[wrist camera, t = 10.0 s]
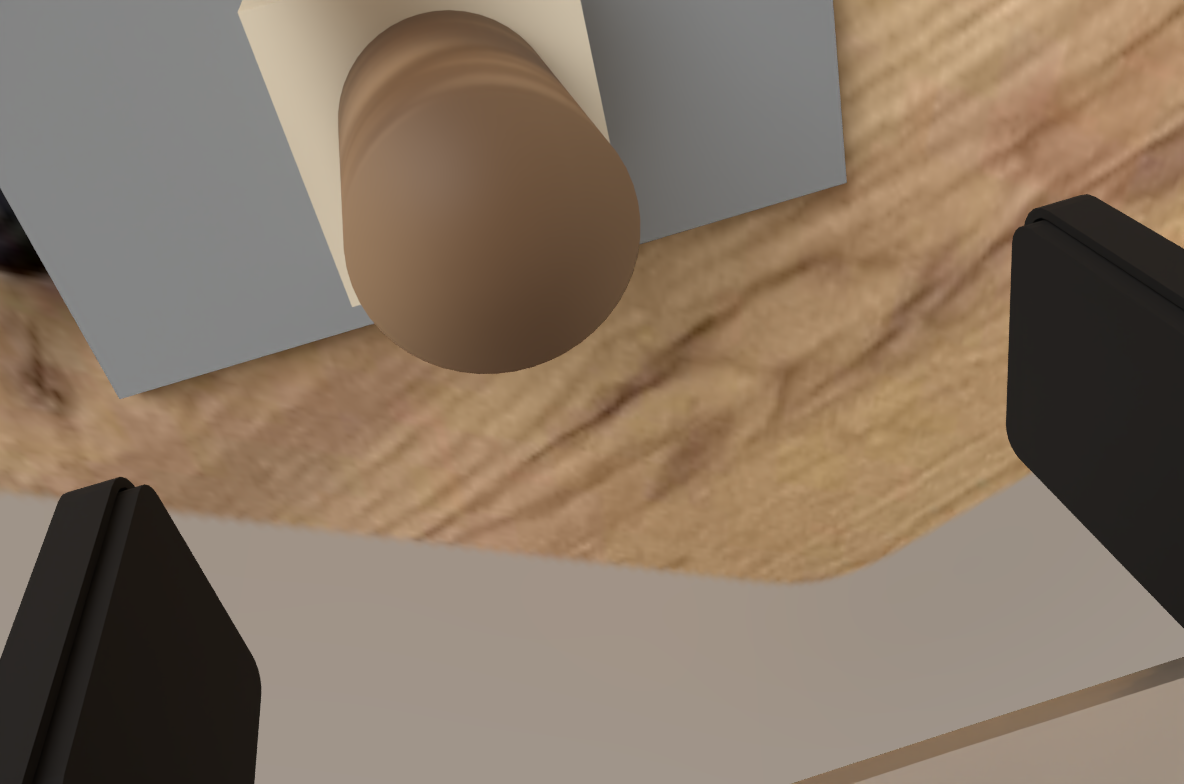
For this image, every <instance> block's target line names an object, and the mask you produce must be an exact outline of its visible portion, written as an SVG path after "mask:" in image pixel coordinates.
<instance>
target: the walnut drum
mask: <svg viewBox="0 0 1184 784" xmlns="http://www.w3.org/2000/svg"><path fill="white" fill-rule="evenodd" d="M338 136H339V158H340V180H341V202H342V224H343V246H344V255H345V262H346V268H347V271H348V275H349V278H350V281H351V285H352V287H353V289H354V291H355V294H356V296H357V298H358V300H359V302H360V304H361V305H362V307H363V308H364V310H365V312H366V313H367V315H368V316H369V318H370V319H371V320H372V321H373V322H374V324H375V325H376V326H377V327H378V328H379V329H380V330H381V332H383V333H384V334H385V335H386V336H387V337H388V338H389V339H390V340H392V341H393V342H394V343H395V344H396V345H398V346H399V347H401V348H402V349H404V350H405V351H407V352H408V353H410V354H412V355H414V356H416V357H418V358H420V359H422V360H424V361H425V362H428V363H431V364H434V365H436V366H439V367H442V368H446V369H450V370H455V371H459V372H467V373H476V374H497V373H505V372H513V371H518V370H522V369H526V368H530V367H534V366H536V365H539V364H542V363H544V362H547V361H550V360H552V359H554V358H556V357H558V356H560V355H562V354H564V353H566V352H567V351H569V350H570V349H572V348H573V347H575V346H576V345H578V344H579V343H581V342H582V341H583V340H584V339H586V338H587V337H588V336H589V335H590V334H592V333H593V332H594V331H595V330H596V329H597V328H598V327H599V326H600V325H601V324H602V323H603V322H604V321H605V320H606V318H607V317H608V316H609V314H610V313H611V312H612V310H613V309H614V308H615V306H616V305H617V304H618V302H619V300H620V298H621V297H622V295H623V293H624V292H625V290H626V288H627V285H628V283H629V281H630V278H631V276H632V274H633V271H634V267H635V263H636V260H637V256H638V250H639V243H640V212H639V205H638V200H637V196H636V192H635V188H634V185H633V182H632V180H631V178H630V175H629V173H628V171H627V168H626V166H625V165H624V163H623V162H622V160H621V158H620V157H619V155H618V153H617V152H616V150H615V149H614V148H613V147H612V146H611V144H610V143H609V142H608V141H607V139H606V138H605V137H604V136H603V134H602V133H601V132H600V131H599V129H598V128H597V127H596V126H595V124H594V123H593V122H592V121H591V120H590V118H589V117H588V116H587V115H586V113H585V112H584V111H583V110H582V108H581V107H580V106H579V105H578V103H577V102H576V101H575V100H574V99H573V97H572V96H571V95H570V94H569V92H568V91H567V90H566V89H565V87H564V86H563V85H562V84H561V82H560V81H559V80H558V79H557V77H556V76H555V75H554V74H553V73H552V71H551V70H550V69H549V68H548V66H547V65H546V64H545V63H544V61H543V60H542V59H541V58H540V56H539V55H538V54H537V53H536V52H535V50H534V49H533V48H532V47H531V46H530V45H529V44H528V43H527V42H526V41H525V40H524V39H523V38H522V37H521V36H520V35H518V34H517V33H516V32H514V31H513V30H511V29H510V28H509V27H507V26H505V25H503V24H501V23H499V22H497V21H496V20H493V19H491V18H488V17H485V16H483V15H480V14H475V13H471V12H466V11H455V10H442V11H432V12H427V13H422V14H418V15H415V16H412V17H409V18H406V19H404V20H402V21H400V22H398V23H396V24H394V25H392V26H390V27H389V28H387V29H386V30H385V31H383V32H382V33H380V34H379V35H378V36H377V37H376V38H374V39H373V40H372V41H371V42H370V43H369V44H368V45H367V46H366V47H365V49H364V50H363V51H362V52H361V54H360V55H359V56H358V57H357V59H356V61H355V62H354V64H353V66H352V67H351V69H350V71H349V73H348V76H347V78H346V80H345V83H344V85H343V89H342V93H341V96H340V102H339V110H338Z"/></svg>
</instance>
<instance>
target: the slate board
mask: <svg viewBox="0 0 1184 784" xmlns="http://www.w3.org/2000/svg"><path fill="white" fill-rule="evenodd" d="M580 1H581V6H582V10H583V15H584V20H585V25H586V30H587V35H588V39H589V44H590V49H591V54H592V59H593V63H594V68H595V73H596V78H597V83H598V87H599V92H600V97H601V102H602V107H603V111H604V116H605V121H606V126H607V131H608V136H609V140H610V144H611V146H612V147H613V148H614V149H615V150H616V152H617V153H618V155H619V157H620V158H621V160H622V162H623V163H624V165H625V166H626V168H627V171H628V173H629V175H630V178H631V180H632V182H633V185H634V188H635V192H636V196H637V200H638V205H639V212H640V243H639V244H643V243H646V242H649V241H653V240H656V239H659V238H663V237H666V236H669V235H673V234H676V233H679V232H683V231H686V230H690V229H693V228H696V227H700V226H703V225H706V224H710V223H713V222H716V221H720V220H723V219H726V218H730V217H733V216H737V215H740V214H743V213H747V212H750V211H753V210H757V209H760V208H763V207H767V206H770V205H773V204H777V203H780V202H784V201H787V200H790V199H794V198H797V197H800V196H804V195H807V194H810V193H814V192H817V191H821V190H824V189H827V188H831V187H834V186H837V185H841V184H844V183H847V180H846V167H845V154H844V140H843V127H842V114H841V101H840V88H839V75H838V62H837V49H836V36H835V22H834V9H833V0H580ZM241 2H242V0H0V188H1V190H2V192H3V194H4V195H5V197H6V199H7V201H8V202H9V204H10V206H11V208H12V209H13V211H14V213H15V215H16V217H17V218H18V220H19V222H20V224H21V225H22V227H23V229H24V231H25V233H26V234H27V236H28V238H29V240H30V241H31V243H32V245H33V247H34V248H35V250H36V252H37V254H38V256H39V257H40V259H41V261H42V263H43V264H44V266H45V268H46V270H47V271H48V273H49V275H50V277H51V279H52V280H53V282H54V284H55V286H56V287H57V289H58V291H59V293H60V294H61V296H62V298H63V300H64V302H65V303H66V305H67V307H68V309H69V310H70V312H71V314H72V316H73V318H74V319H75V321H76V323H77V325H78V326H79V328H80V330H81V332H82V333H83V335H84V337H85V339H86V341H87V342H88V344H89V346H90V348H91V349H92V351H93V353H94V355H95V356H96V358H97V360H98V362H99V364H100V365H101V367H102V369H103V371H104V372H105V374H106V376H107V378H108V380H109V381H110V383H111V385H112V387H113V388H114V390H115V392H116V394H117V395H118V397H119V399H122V398H125V397H129V396H132V395H135V394H139V393H142V392H145V391H149V390H152V389H156V388H159V387H162V386H166V385H169V384H172V383H176V382H179V381H182V380H186V379H189V378H192V377H196V376H199V375H203V374H206V373H209V372H213V371H216V370H219V369H223V368H226V367H229V366H233V365H236V364H239V363H243V362H246V361H250V360H253V359H256V358H260V357H263V356H266V355H270V354H273V353H276V352H280V351H283V350H286V349H290V348H293V347H297V346H300V345H303V344H307V343H310V342H313V341H317V340H320V339H323V338H327V337H330V336H334V335H337V334H340V333H344V332H347V331H350V330H354V329H357V328H360V327H364V326H367V325H370V324H374V322H373V321H372V320H371V319H370V318H369V316H368V315H367V313H366V312H365V310H364V308H363V307H362V305H358V306H355V307H352V305H351V303H350V300H349V298H348V295H347V292H346V290H345V287H344V285H343V282H342V280H341V277H340V274H339V272H338V269H337V267H336V264H335V262H334V259H333V256H332V254H331V251H330V249H329V246H328V244H327V241H326V238H325V236H324V233H323V231H322V228H321V226H320V223H319V220H318V218H317V215H316V213H315V210H314V208H313V205H312V202H311V200H310V197H309V195H308V192H307V190H306V187H305V184H304V182H303V179H302V177H301V174H300V172H299V169H298V166H297V164H296V161H295V159H294V156H293V154H292V151H291V148H290V146H289V143H288V141H287V138H286V136H285V133H284V130H283V128H282V125H281V123H280V120H279V118H278V115H277V112H276V110H275V107H274V105H273V102H272V100H271V97H270V94H269V92H268V89H267V87H266V84H265V82H264V79H263V76H262V74H261V71H260V69H259V66H258V64H257V61H256V58H255V56H254V53H253V51H252V48H251V46H250V43H249V40H248V38H247V35H246V33H245V30H244V28H243V25H242V22H241V20H240V17H239V15H238V10H239V7H240V5H241Z"/></svg>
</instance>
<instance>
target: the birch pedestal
mask: <svg viewBox="0 0 1184 784" xmlns="http://www.w3.org/2000/svg"><path fill="white" fill-rule="evenodd" d="M442 10H455V11H466V12H471V13H475V14H480V15H483V16H485V17H488V18H491V19H493V20H496V21H497V22H499V23H501V24H503V25H505V26H507V27H509V28H510V29H511V30H513V31H514V32H516V33H517V34H518V35H520V36H521V37H522V38H523V39H524V40H525V41H526V42H527V43H528V44H529V45H530V46H531V47H532V48H533V49H534V50H535V52H536V53H537V54H538V55H539V56H540V58H541V59H542V60H543V61H544V63H545V64H546V65H547V66H548V68H549V69H550V70H551V71H552V73H553V74H554V75H555V76H556V77H557V79H558V80H559V81H560V82H561V84H562V85H563V86H564V87H565V89H566V90H567V91H568V92H569V94H570V95H571V96H572V97H573V99H574V100H575V101H576V102H577V103H578V105H579V106H580V107H581V108H582V110H583V111H584V112H585V113H586V115H587V116H588V117H589V118H590V120H591V121H592V122H593V123H594V124H595V126H596V127H597V128H598V129H599V131H600V132H601V133H602V134H603V136H604V137H605V138H606V139H607V141H608V142H609V143H610V140H609V136H608V131H607V126H606V121H605V116H604V111H603V107H602V102H601V97H600V92H599V87H598V83H597V78H596V73H595V68H594V63H593V59H592V54H591V49H590V44H589V39H588V35H587V30H586V25H585V20H584V15H583V10H582V6H581V1H580V0H242V2H241V5H240V7H239V10H238V15H239V17H240V20H241V22H242V25H243V28H244V30H245V33H246V35H247V38H248V40H249V43H250V46H251V48H252V51H253V53H254V56H255V58H256V61H257V64H258V66H259V69H260V71H261V74H262V76H263V79H264V82H265V84H266V87H267V89H268V92H269V94H270V97H271V100H272V102H273V105H274V107H275V110H276V112H277V115H278V118H279V120H280V123H281V125H282V128H283V130H284V133H285V136H286V138H287V141H288V143H289V146H290V148H291V151H292V154H293V156H294V159H295V161H296V164H297V166H298V169H299V172H300V174H301V177H302V179H303V182H304V184H305V187H306V190H307V192H308V195H309V197H310V200H311V202H312V205H313V208H314V210H315V213H316V215H317V218H318V220H319V223H320V226H321V228H322V231H323V233H324V236H325V238H326V241H327V244H328V246H329V249H330V251H331V254H332V256H333V259H334V262H335V264H336V267H337V269H338V272H339V274H340V277H341V280H342V282H343V285H344V287H345V290H346V292H347V295H348V298H349V300H350V303H351V305H352V307H355V306H358V305H361V304H360V302H359V300H358V298H357V296H356V294H355V291H354V289H353V287H352V285H351V281H350V278H349V275H348V271H347V268H346V262H345V255H344V246H343V224H342V202H341V180H340V158H339V136H338V110H339V102H340V96H341V93H342V89H343V85H344V83H345V80H346V78H347V76H348V73H349V71H350V69H351V67H352V66H353V64H354V62H355V61H356V59H357V57H358V56H359V55H360V54H361V52H362V51H363V50H364V49H365V47H366V46H367V45H368V44H369V43H370V42H371V41H372V40H373V39H374V38H376V37H377V36H378V35H379V34H380V33H382V32H383V31H385V30H386V29H387V28H389V27H390V26H392V25H394V24H396V23H398V22H400V21H402V20H404V19H406V18H409V17H412V16H415V15H418V14H422V13H427V12H432V11H442Z"/></svg>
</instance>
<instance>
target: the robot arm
mask: <svg viewBox="0 0 1184 784" xmlns="http://www.w3.org/2000/svg"><path fill="white" fill-rule="evenodd" d="M1006 430H1007V435H1008V439H1009V442H1010V444H1011V447H1012V448H1013V450H1014V452H1015V454H1016V455H1017V456H1018V457H1019V459H1020V460H1021V461H1022V462H1023V463H1024V464H1025V465H1026V466H1027V467H1028V468H1029V469H1030V470H1031V471H1032V472H1033V473H1034V474H1035V475H1036V476H1037V477H1038V478H1039V479H1040V480H1041V481H1042V482H1043V484H1044V485H1045V486H1047V488H1048V489H1050V491H1051V492H1052V493H1053V494H1054V495H1055V496H1056V497H1057V498H1058V499H1059V500H1060V501H1061V502H1062V503H1063V504H1064V505H1065V506H1066V507H1067V508H1068V509H1069V510H1070V511H1071V512H1072V514H1074V516H1075V517H1077V519H1078V520H1079V521H1080V522H1081V523H1082V524H1083V525H1084V526H1085V527H1086V528H1087V529H1088V530H1089V531H1090V532H1091V533H1092V534H1093V535H1094V536H1095V537H1096V538H1097V539H1098V540H1099V541H1100V542H1101V543H1102V545H1104V547H1105V548H1106V549H1107V550H1108V551H1109V552H1110V553H1111V554H1112V555H1113V556H1114V557H1115V558H1116V559H1117V560H1118V561H1119V562H1120V563H1121V564H1122V565H1123V566H1124V567H1125V568H1126V569H1127V570H1128V571H1129V572H1130V573H1131V575H1132V576H1134V578H1135V579H1136V580H1137V581H1138V582H1139V583H1140V584H1141V585H1142V586H1143V587H1144V588H1145V589H1146V590H1147V591H1148V592H1149V593H1150V594H1151V595H1152V596H1153V597H1154V598H1155V599H1156V600H1157V601H1158V602H1159V603H1160V604H1161V606H1163V608H1164V609H1165V610H1167V612H1168V613H1169V614H1170V615H1171V616H1172V617H1173V618H1174V619H1175V620H1176V621H1177V622H1178V623H1179V624H1180V625H1181V626H1182V627H1183V628H1184V249H1183V248H1181V247H1180V246H1178V245H1176V244H1175V243H1173V242H1171V241H1170V240H1168V239H1166V238H1164V237H1163V236H1161V235H1159V234H1158V233H1156V232H1154V231H1152V230H1151V229H1149V228H1147V227H1146V226H1144V225H1142V224H1141V223H1139V222H1137V221H1135V220H1134V219H1132V218H1130V217H1129V216H1127V215H1125V214H1123V213H1122V212H1120V211H1118V210H1117V209H1115V208H1113V207H1112V206H1110V205H1108V204H1106V203H1105V202H1103V201H1101V200H1100V199H1098V198H1096V197H1094V196H1091V195H1088V194H1085V195H1080V196H1076V197H1073V198H1069V199H1066V200H1063V201H1059V202H1056V203H1052V204H1049V205H1046V206H1042V207H1039V208H1035V209H1033V210H1032V211H1031V212H1030V213H1029V214H1028V216H1027V218H1026V220H1025V225H1024V226H1022V227H1019V228H1018V229H1017V230H1016V231H1015V233H1014V235H1013V241H1012V263H1011V293H1010V322H1009V352H1008V382H1007V411H1006ZM260 703H261V681H260V675H259V671H258V668H257V665H256V662H255V660H254V658H253V656H252V654H251V652H250V651H249V649H248V647H247V646H246V644H245V642H244V641H243V639H242V637H241V636H240V634H239V632H238V630H237V629H236V627H235V625H234V624H233V622H232V620H231V619H230V617H229V615H228V613H227V612H226V610H225V608H224V607H223V605H222V603H221V602H220V600H219V598H218V596H217V595H216V593H215V591H214V590H213V588H212V587H211V585H210V583H209V581H208V580H207V578H206V576H205V575H204V573H203V571H202V569H201V568H200V566H199V564H198V563H197V561H196V559H195V558H194V556H193V554H192V552H191V551H190V549H189V547H188V546H187V544H186V542H185V541H184V539H183V537H182V536H181V534H180V532H179V531H178V529H177V527H176V525H175V524H174V522H173V520H172V519H171V517H170V515H169V513H168V512H167V510H166V508H165V507H164V505H163V503H162V502H161V500H160V498H159V497H158V495H157V494H156V492H155V491H154V489H152V488H151V487H150V486H149V485H141V486H138V487H135V486H134V485H133V484H132V483H131V482H130V481H129V480H128V479H126V478H123V477H118V478H115V479H111V480H108V481H105V482H101V483H98V484H94V485H91V486H87V487H84V488H81V489H77V490H74V491H70V492H67V493H65V494H63V495H62V496H61V498H60V500H59V501H58V504H57V506H56V509H55V512H54V515H53V518H52V520H51V523H50V525H49V528H48V531H47V534H46V536H45V539H44V542H43V545H42V547H41V550H40V553H39V556H38V558H37V561H36V563H35V566H34V569H33V572H32V574H31V577H30V580H29V582H28V585H27V588H26V591H25V593H24V596H23V599H22V601H21V604H20V607H19V610H18V612H17V615H16V618H15V620H14V623H13V626H12V629H11V631H10V634H9V637H8V639H7V642H6V645H5V648H4V651H3V653H2V656H1V658H0V784H254V780H255V766H256V754H257V741H258V729H259V716H260ZM792 784H1184V657H1182V658H1179V659H1176V660H1173V661H1170V662H1167V663H1164V664H1160V665H1157V666H1154V667H1151V668H1148V669H1145V670H1142V671H1139V672H1135V673H1133V674H1129V675H1126V676H1123V677H1120V678H1117V679H1114V680H1111V681H1107V682H1104V683H1101V684H1098V685H1095V686H1092V687H1089V688H1085V689H1082V690H1079V691H1076V692H1073V693H1070V694H1067V695H1064V696H1060V697H1057V698H1054V699H1051V700H1048V701H1045V702H1042V703H1039V704H1036V705H1032V706H1029V707H1026V708H1023V709H1020V710H1017V711H1014V712H1011V713H1007V714H1005V715H1001V716H998V717H995V718H992V719H989V720H986V721H983V722H980V723H976V724H973V725H970V726H967V727H964V728H961V729H958V730H955V731H952V732H949V733H946V734H942V735H940V736H936V737H933V738H930V739H927V740H924V741H921V742H918V743H915V744H912V745H909V746H906V747H903V748H899V749H896V750H894V751H890V752H887V753H884V754H881V755H878V756H875V757H872V758H869V759H866V760H863V761H860V762H857V763H853V764H850V765H847V766H844V767H841V768H838V769H835V770H832V771H829V772H826V773H823V774H820V775H817V776H814V777H810V778H808V779H804V780H801V781H798V782H795V783H792Z"/></svg>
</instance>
